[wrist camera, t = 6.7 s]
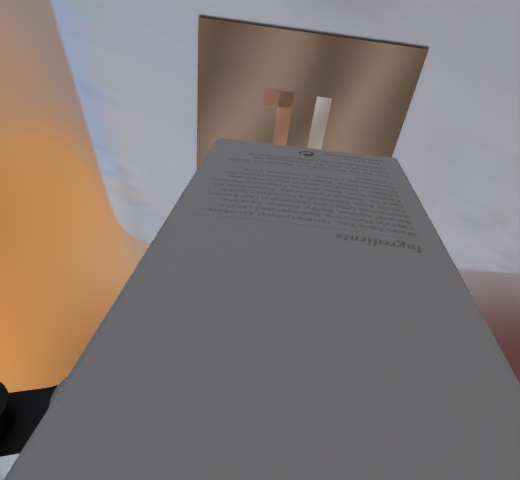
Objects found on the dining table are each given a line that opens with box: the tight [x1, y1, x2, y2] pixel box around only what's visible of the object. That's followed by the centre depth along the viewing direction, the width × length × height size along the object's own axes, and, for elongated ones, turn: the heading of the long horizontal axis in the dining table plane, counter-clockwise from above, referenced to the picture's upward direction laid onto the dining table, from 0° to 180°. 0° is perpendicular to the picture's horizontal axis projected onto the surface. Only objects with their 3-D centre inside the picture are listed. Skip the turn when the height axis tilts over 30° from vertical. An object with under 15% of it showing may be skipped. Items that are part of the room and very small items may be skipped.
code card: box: [197, 17, 428, 169], centre depth 25 cm, size 14×12×1 cm
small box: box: [4, 138, 520, 480], centre depth 9 cm, size 8×6×10 cm
